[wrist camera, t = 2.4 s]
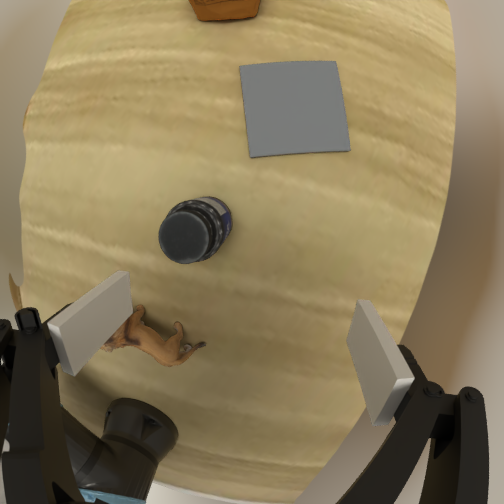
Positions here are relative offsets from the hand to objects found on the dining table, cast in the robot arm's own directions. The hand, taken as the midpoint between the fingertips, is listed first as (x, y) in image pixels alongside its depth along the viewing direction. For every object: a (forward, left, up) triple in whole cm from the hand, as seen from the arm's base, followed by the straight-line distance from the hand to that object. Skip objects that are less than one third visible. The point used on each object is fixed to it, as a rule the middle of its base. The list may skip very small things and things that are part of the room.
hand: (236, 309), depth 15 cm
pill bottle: (-5, +3, -20) cm, 21 cm away
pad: (+7, +16, -20) cm, 26 cm away
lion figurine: (-16, -12, -20) cm, 28 cm away
